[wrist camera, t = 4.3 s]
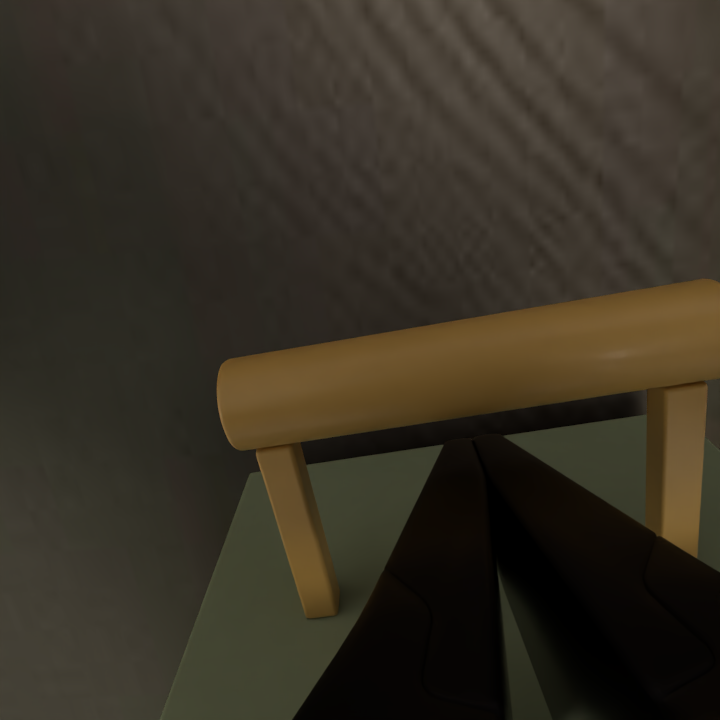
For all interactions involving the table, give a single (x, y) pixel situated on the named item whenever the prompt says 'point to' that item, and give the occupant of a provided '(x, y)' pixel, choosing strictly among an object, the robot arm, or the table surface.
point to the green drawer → (412, 467)
